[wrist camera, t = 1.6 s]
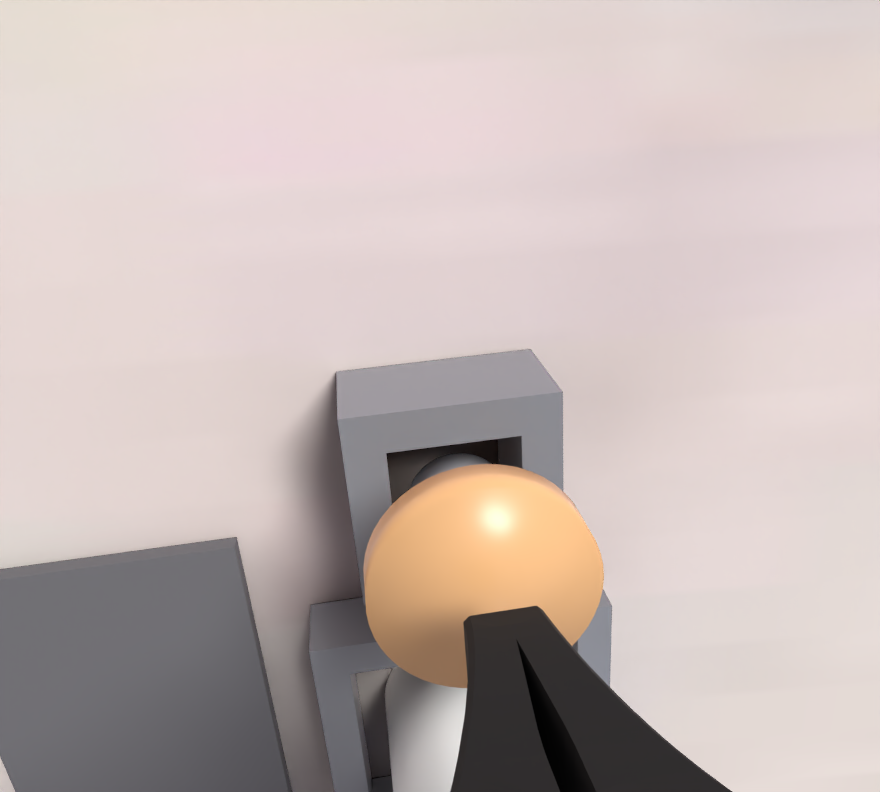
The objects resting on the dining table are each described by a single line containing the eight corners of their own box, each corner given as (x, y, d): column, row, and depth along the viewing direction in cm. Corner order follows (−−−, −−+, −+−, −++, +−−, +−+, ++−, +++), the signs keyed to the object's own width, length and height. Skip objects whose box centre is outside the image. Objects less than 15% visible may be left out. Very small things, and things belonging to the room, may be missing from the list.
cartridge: (536, 732, 25) (603, 942, 19) (392, 756, 25) (413, 979, 19) (533, 617, 23) (606, 810, 17) (376, 641, 23) (394, 848, 17)
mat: (299, 826, 26) (299, 840, 25) (60, 868, 25) (55, 883, 24) (236, 537, 21) (234, 547, 20) (-63, 577, 20) (-72, 589, 20)
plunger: (553, 563, 19) (601, 668, 16) (370, 590, 19) (379, 704, 15) (550, 395, 17) (605, 473, 14) (347, 420, 17) (351, 507, 13)
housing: (587, 762, 26) (617, 841, 24) (345, 804, 25) (347, 891, 23) (591, 342, 20) (633, 383, 17) (270, 379, 19) (260, 428, 16)
